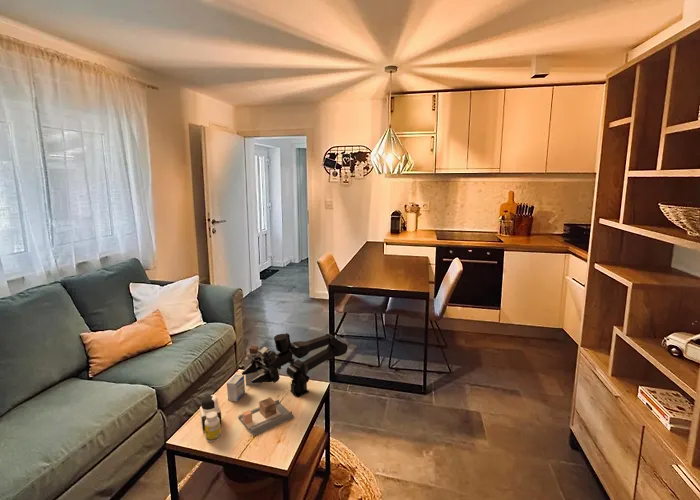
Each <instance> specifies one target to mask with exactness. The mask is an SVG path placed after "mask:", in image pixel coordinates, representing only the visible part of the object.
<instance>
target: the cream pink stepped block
mask: <svg viewBox="0 0 700 500" xmlns="http://www.w3.org/2000/svg"><path fill="white" fill-rule="evenodd" d="M241 414H242V421H243V423H244V424H245V425H246V426H247V427H248V428H249V429H250V428H253V427H255V426H257V425H260V424H262V423H264V422H266V421H269V420H271V419H273V418H276V417H278V416H280V415H281V413H280V412H279V411H278V410H277V409H276V414H274V415H272V416H270V417H268V418H265V417H264V416H263V415H262V414H261V413H260V411H259V412H256V413H254V414H252V412H251V410H250V409H248V410H246V411H243V412H241Z"/></svg>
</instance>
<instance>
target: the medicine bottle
mask: <svg viewBox="0 0 700 500" xmlns="http://www.w3.org/2000/svg"><path fill="white" fill-rule="evenodd" d="M218 400H219V399H218V396H217V395H215V394H209V395H206V396H203V398H202V399H201V406H200V407H199V417H200V424H201V429H202V432H203V433H205V420H206V414H207V413H209V412H212V411H215V412H217V417H219V419H220V428H222V427H223V423H222V411H221V408H220V404H219V401H218Z"/></svg>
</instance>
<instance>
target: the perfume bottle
mask: <svg viewBox="0 0 700 500" xmlns="http://www.w3.org/2000/svg"><path fill="white" fill-rule="evenodd" d="M260 350H261V349H259V345H258V346H257V345H251V346H250V347H249V348H248V352H247V353H246V357H245V358H244V370H245V369H246V368H247V367H248V366H249V365H250V363H251V356H253V355H258V356H259V357H261V359H262V358H264V357H263V356H262V355H261V354H260V353H259V351H260ZM262 363H263V359H262ZM257 371H258V372H254V373H250V374H246V375H244V377H245V386H250V387H260V386H261V385H262V383H252V380H253V379H254V378H256V377H257V376H259V375H260V374H262V373H263V372H264V369H261V370H257Z"/></svg>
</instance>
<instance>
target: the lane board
mask: <svg viewBox="0 0 700 500" xmlns="http://www.w3.org/2000/svg"><path fill="white" fill-rule="evenodd" d="M274 401H275V402H276V409H277V410H278V411H279V412H280V413H281V415H280V416H278V417H276V418H273V419H271V420H269V421H266V422H264V423H262V424H260V425H257V426H255V427H253V428H250V429H249V428H248V427H247V426H246V425H245V424H244V423H243V421H242V413H241V414H239V415H237V416H238V417H237V418H238V420H239V421H240V423H241V424H242V425H243V426H244V427H245V428H246V430H247V431H248V432H249V433H250V434H251V435H252V437H255V436H256V435H259V434H261V433H263V432H265V431H266V432H267V431H268V430H270V429H272V428H274V427H276V426H279V425H281V424H283V423H285V422H288V421H289V420H292V419H294V417H295V416H294V414H293V411H292V410H291V411H289V410H288V409H287V408H286V407H285V406H284V405H283V404H282V403H281V402H280V399H276V400H274ZM250 411H251V412H252V414H254V413H256V412H259V411H260V406H257V407H256V408H253V409H252V410H250Z"/></svg>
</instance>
